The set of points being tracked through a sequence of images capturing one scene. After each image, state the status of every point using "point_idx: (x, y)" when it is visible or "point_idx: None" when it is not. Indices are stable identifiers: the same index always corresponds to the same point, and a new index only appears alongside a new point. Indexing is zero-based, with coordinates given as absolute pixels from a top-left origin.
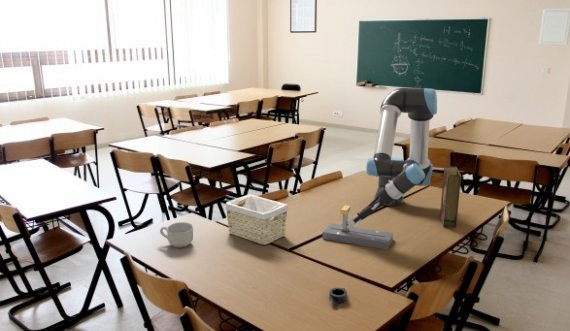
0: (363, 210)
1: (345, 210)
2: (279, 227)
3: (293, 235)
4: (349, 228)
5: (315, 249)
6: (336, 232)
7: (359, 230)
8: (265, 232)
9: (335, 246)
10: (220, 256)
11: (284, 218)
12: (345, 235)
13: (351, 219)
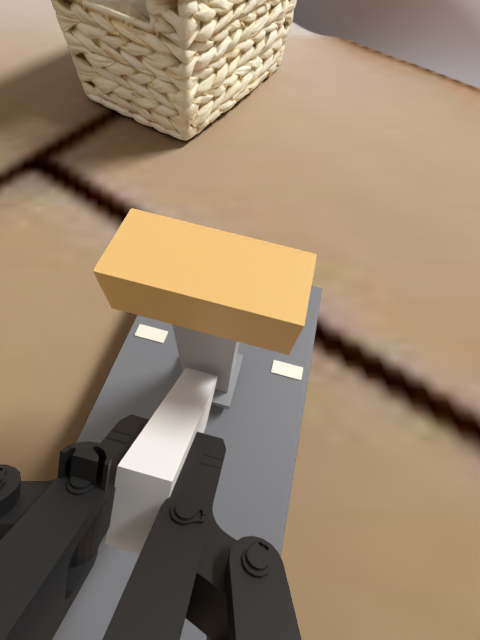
0: (24, 601)
1: (101, 259)
2: (151, 77)
3: (199, 170)
4: (256, 414)
5: (27, 249)
6: (165, 323)
7: (225, 505)
8: (69, 36)
9: (56, 342)
10: (15, 28)
11: (174, 45)
12: (109, 384)
13: (167, 396)
